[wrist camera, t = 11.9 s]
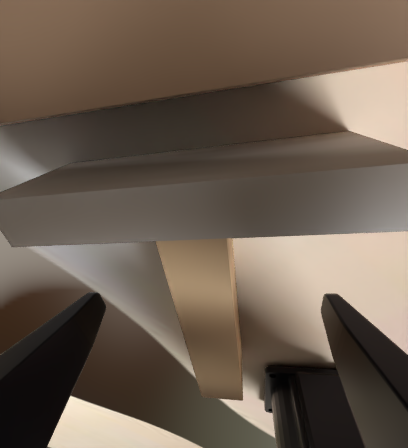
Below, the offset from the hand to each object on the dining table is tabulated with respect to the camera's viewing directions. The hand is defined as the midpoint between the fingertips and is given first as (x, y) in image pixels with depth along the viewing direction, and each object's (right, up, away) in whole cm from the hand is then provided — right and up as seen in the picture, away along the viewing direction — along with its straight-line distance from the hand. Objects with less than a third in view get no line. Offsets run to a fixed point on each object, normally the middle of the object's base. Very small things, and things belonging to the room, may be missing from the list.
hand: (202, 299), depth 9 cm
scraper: (+1, 0, +3) cm, 3 cm away
